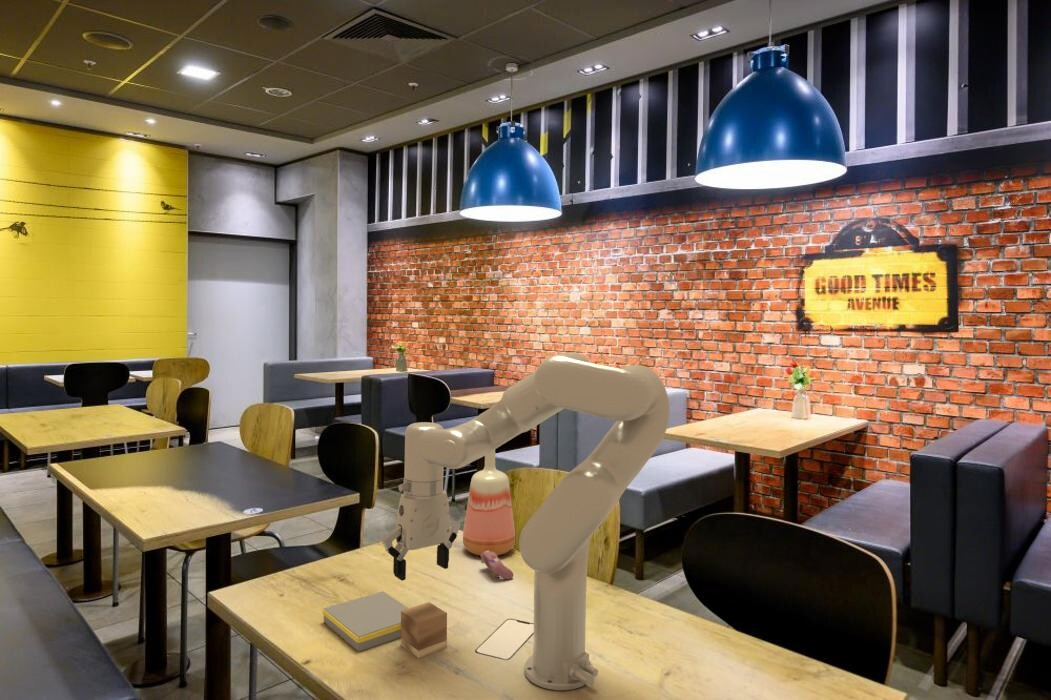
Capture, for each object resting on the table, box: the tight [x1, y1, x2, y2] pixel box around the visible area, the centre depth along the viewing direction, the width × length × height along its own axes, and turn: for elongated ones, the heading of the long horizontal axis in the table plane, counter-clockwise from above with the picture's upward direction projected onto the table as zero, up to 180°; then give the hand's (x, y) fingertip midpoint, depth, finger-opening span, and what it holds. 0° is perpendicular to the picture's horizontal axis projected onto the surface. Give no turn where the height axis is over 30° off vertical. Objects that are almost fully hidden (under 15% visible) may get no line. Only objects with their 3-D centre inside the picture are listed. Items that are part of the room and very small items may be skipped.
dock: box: [322, 590, 410, 652], centre depth 142 cm, size 16×14×3 cm
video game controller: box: [479, 550, 514, 581], centre depth 171 cm, size 10×5×7 cm, turn 25°
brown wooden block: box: [400, 601, 448, 659], centre depth 134 cm, size 6×6×7 cm
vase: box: [462, 449, 516, 557], centre depth 186 cm, size 14×14×30 cm
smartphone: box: [474, 618, 534, 661], centre depth 138 cm, size 8×1×16 cm
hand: (421, 572), depth 134 cm, fingers open, 9 cm apart
